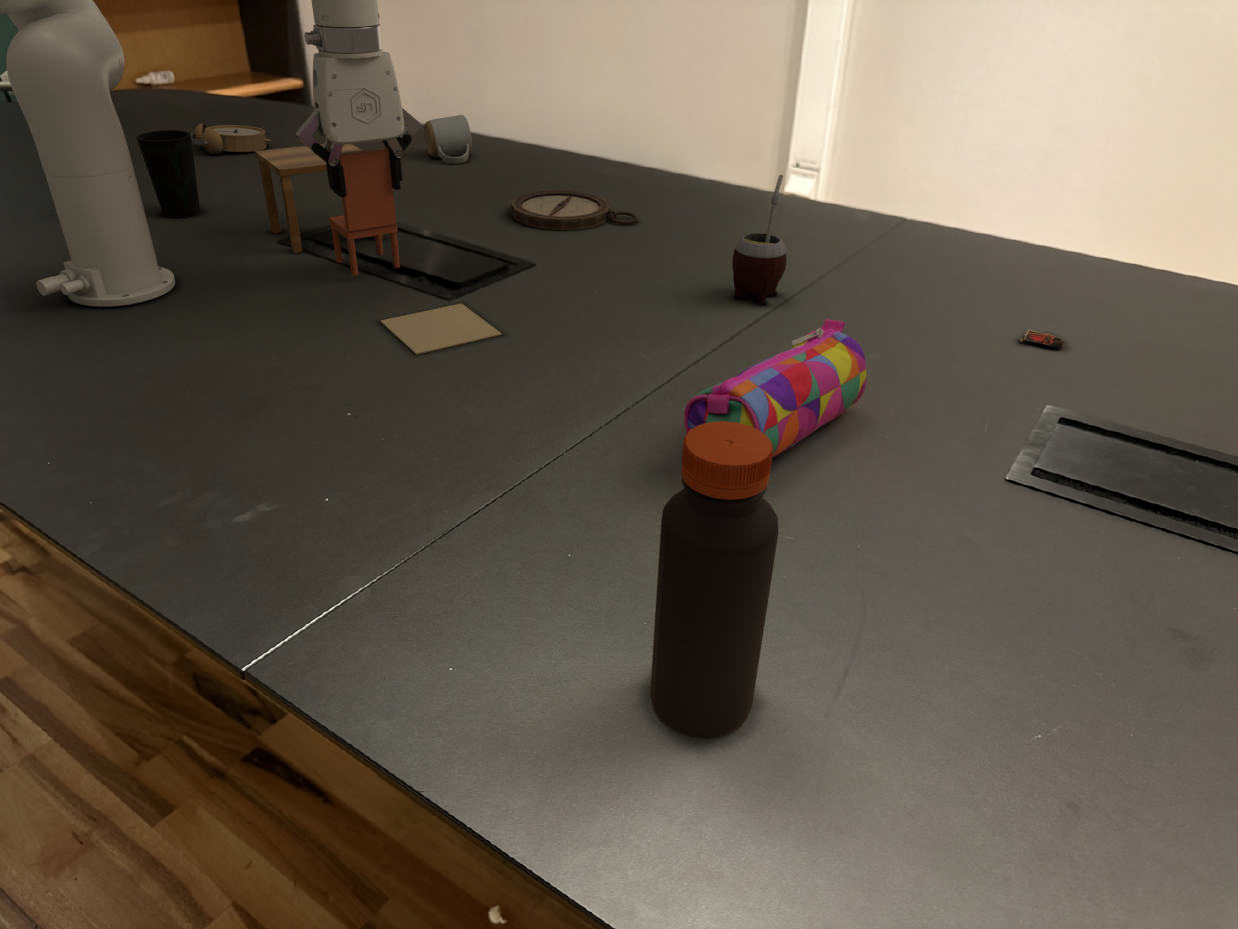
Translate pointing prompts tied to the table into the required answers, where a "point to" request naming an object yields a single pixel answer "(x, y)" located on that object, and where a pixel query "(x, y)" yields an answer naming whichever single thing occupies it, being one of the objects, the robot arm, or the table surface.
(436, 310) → the mat
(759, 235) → the mate gourd
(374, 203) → the chair
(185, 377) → the table surface
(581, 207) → the compass
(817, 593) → the table surface
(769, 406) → the pencil case
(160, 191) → the cup
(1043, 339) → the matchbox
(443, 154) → the ceramic mug
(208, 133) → the alarm clock
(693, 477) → the bottle
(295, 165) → the side table
